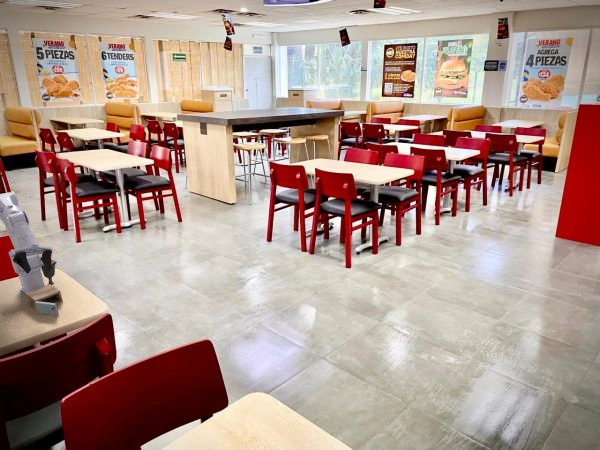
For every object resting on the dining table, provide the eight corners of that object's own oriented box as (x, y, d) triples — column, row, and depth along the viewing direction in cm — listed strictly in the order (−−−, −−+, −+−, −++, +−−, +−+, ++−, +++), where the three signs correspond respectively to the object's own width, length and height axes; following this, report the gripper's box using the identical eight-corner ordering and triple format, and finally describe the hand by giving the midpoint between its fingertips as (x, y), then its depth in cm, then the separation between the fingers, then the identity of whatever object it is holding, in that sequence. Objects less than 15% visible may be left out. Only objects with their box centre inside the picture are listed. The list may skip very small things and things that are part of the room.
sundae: (54, 289, 188) (48, 255, 184) (38, 288, 189) (32, 254, 184) (63, 282, 194) (58, 249, 190) (48, 281, 195) (43, 249, 190)
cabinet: (29, 304, 176) (25, 293, 174) (52, 294, 183) (49, 283, 181) (39, 312, 171) (35, 300, 169) (62, 301, 177) (59, 290, 175)
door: (39, 311, 170) (36, 301, 169) (59, 314, 168) (56, 303, 167) (36, 314, 169) (33, 303, 167) (56, 316, 167) (53, 305, 165)
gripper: (10, 234, 160) (23, 266, 156) (50, 233, 172) (63, 262, 168) (1, 246, 162) (15, 277, 159) (42, 244, 175) (55, 273, 171)
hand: (39, 270), depth 164 cm, fingers open, 7 cm apart
